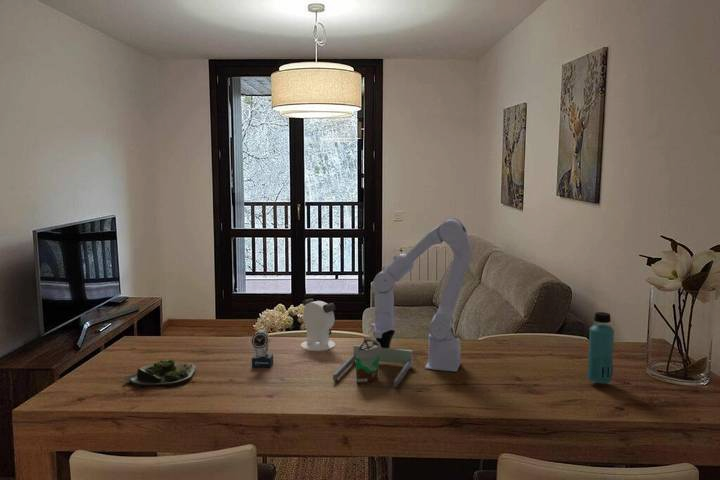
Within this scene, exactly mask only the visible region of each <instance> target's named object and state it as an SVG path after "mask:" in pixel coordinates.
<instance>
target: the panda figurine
mask: <svg viewBox="0 0 720 480" xmlns="http://www.w3.org/2000/svg"><path fill="white" fill-rule="evenodd" d="M302 305H303V306H304V307H303V310H302V311H303V312H302V318H303V322H304V324H305V326H306V341H303V342H301V344H300V347H301V349H303V350H305V351H311V352H323V351H329V350H331V348H332V349H333V347H334V348H335V346H336V343H335V342H334V341H333V340H329V337H330V335H332V327H333V326H334V324H335V322H336V316H335V310H336V305H335V304H334V302H330V303H327V302H325V301H322V300H316V301H315V300H314V298H308V299H304V300H303V301H302ZM328 349H329V350H328Z"/></svg>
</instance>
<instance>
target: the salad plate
mask: <svg viewBox="0 0 720 480" xmlns="http://www.w3.org/2000/svg"><path fill="white" fill-rule="evenodd" d="M195 371H196V365H195V364H192V363H188V362H187V363H184V362H183V363H176V361H175V360H173V359H168V358H165V359H164V360H162V359H161V360H159V361H156V362H154V363H153V364H152V363H151V364H148V365H145V366H141V367H140V368H138V369H137V371H136V373H133V374H131V375H129V376H126V377H124V381H126V382H130V383H131V384H133V385H134V386H135V385H136V386H135V387H137V386H139V387H138V388H142V387H166V388H174V387H178V386H181V385H183V384H186V383H187V382H188V381H190V380H192V378H193V375H194V374H195ZM173 386H174V387H173Z"/></svg>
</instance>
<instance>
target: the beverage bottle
mask: <svg viewBox="0 0 720 480" xmlns="http://www.w3.org/2000/svg"><path fill="white" fill-rule="evenodd" d="M593 321H594V322H597V323H594V324H593V325H591V326H590V327H589V340H588V353H587V368H586V370H587V372H586V373H587V375H586V376H587V378H588V380H589V381H590V382H593V383H596V384H610V383H612V380H613V376H614V353H615V350H614V347H615V342H614V341H615V340H614V339H615V329H614V328H613V327H612V326H611V325H609V324H607V323H610V322H611V314H610V313H608V312H603V311H601V312H600V311H598V312H597V311H596V312H595V313H594V317H593Z"/></svg>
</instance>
